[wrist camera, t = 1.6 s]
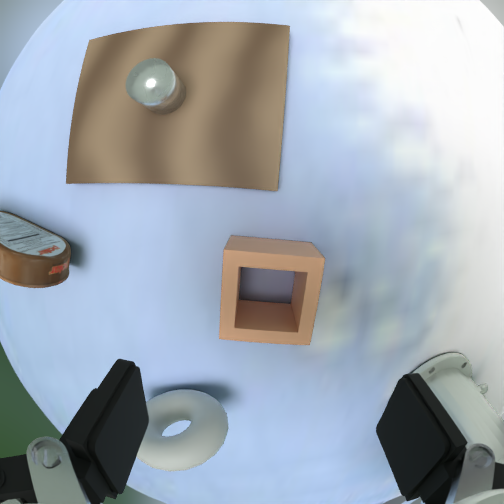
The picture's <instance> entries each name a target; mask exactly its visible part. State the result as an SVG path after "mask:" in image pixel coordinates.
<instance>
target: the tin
mask: <svg viewBox="0 0 504 504" xmlns="http://www.w3.org/2000/svg"><path fill="white" fill-rule="evenodd" d="M70 257H71V247H70V245H69V243H68V242H67V241H66V240H65V239H64V238H62V237H60V236H58V235H56V234H54V233H52V232H50V231H48V230H46V229H44V228H42V227H40V226H38V225H36V224H34V223H32V222H30V221H27V220H25V219H23V218H21V217H19V216H17V215H15V214H12V213H9V212H5V211H0V278H1V279H2V280H4V281H6V282H8V283H11V284H14V285H18V286H22V287H29V288H45V287H51V286H54V285H58V284H60V283H62V282H63V281H65V280H66V279H67V278H68V276H69V263H70Z"/></svg>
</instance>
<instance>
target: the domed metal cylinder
mask: <svg viewBox="0 0 504 504" xmlns="http://www.w3.org/2000/svg"><path fill="white" fill-rule="evenodd" d="M126 91H127V93H128V95H129V96H130V97H131V98H132V99H134V100H135V101H137V102H139V103H140V104H142V105H143V106H145V107H146V108H148V109H150V110H151V111H153V112H154V113H157V114H163V115H164V114H169V113H172V112H174V111H175V110H177V109H178V108H179V107H180V106H181V105H182V103H183V102H184V100H185V96H186V89H185V86H184V84H183V83H182V81H181V80H180V79H179V78H178V76H177V75H176V74H175V73H174V71H173V70H172V69H171V68H170V66H169V65H168V64H167V63H166V62H165V61H163V60H161V59H158V58H151V59H146V60H144V61H142V62H140V63H138V64H137V65H136V66H135V67H134V68H133V69H132V70H131V71H130V73H129V74H128V76H127V79H126Z"/></svg>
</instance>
